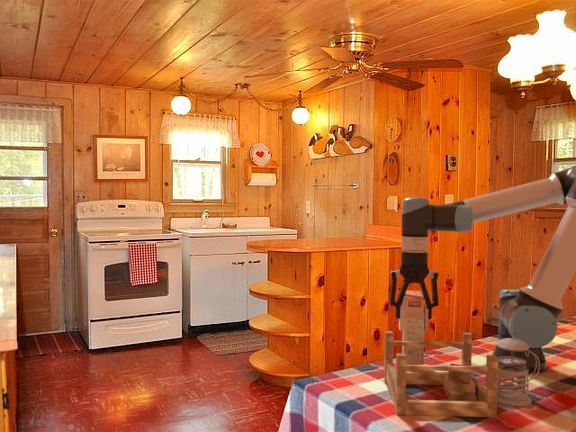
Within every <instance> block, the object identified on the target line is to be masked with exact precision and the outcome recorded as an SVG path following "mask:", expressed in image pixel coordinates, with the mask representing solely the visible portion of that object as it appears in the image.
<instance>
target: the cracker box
mask: <svg viewBox="0 0 576 432" xmlns="http://www.w3.org/2000/svg"><path fill="white" fill-rule="evenodd" d="M425 305H426V303H425V299H424V296H423V294H422V291H421V290H409V289H407V291H406V293H405V296H404V299H403V302H402V308H403V331H402V338H401V339H402V340H401V341H425V330H424V317H425V307H426V306H425ZM424 348H425V346H401V353H405V355H406V365H424V354H425V353H424V352H425V349H424ZM406 371H413V372H424V371H420V370H406Z"/></svg>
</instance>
